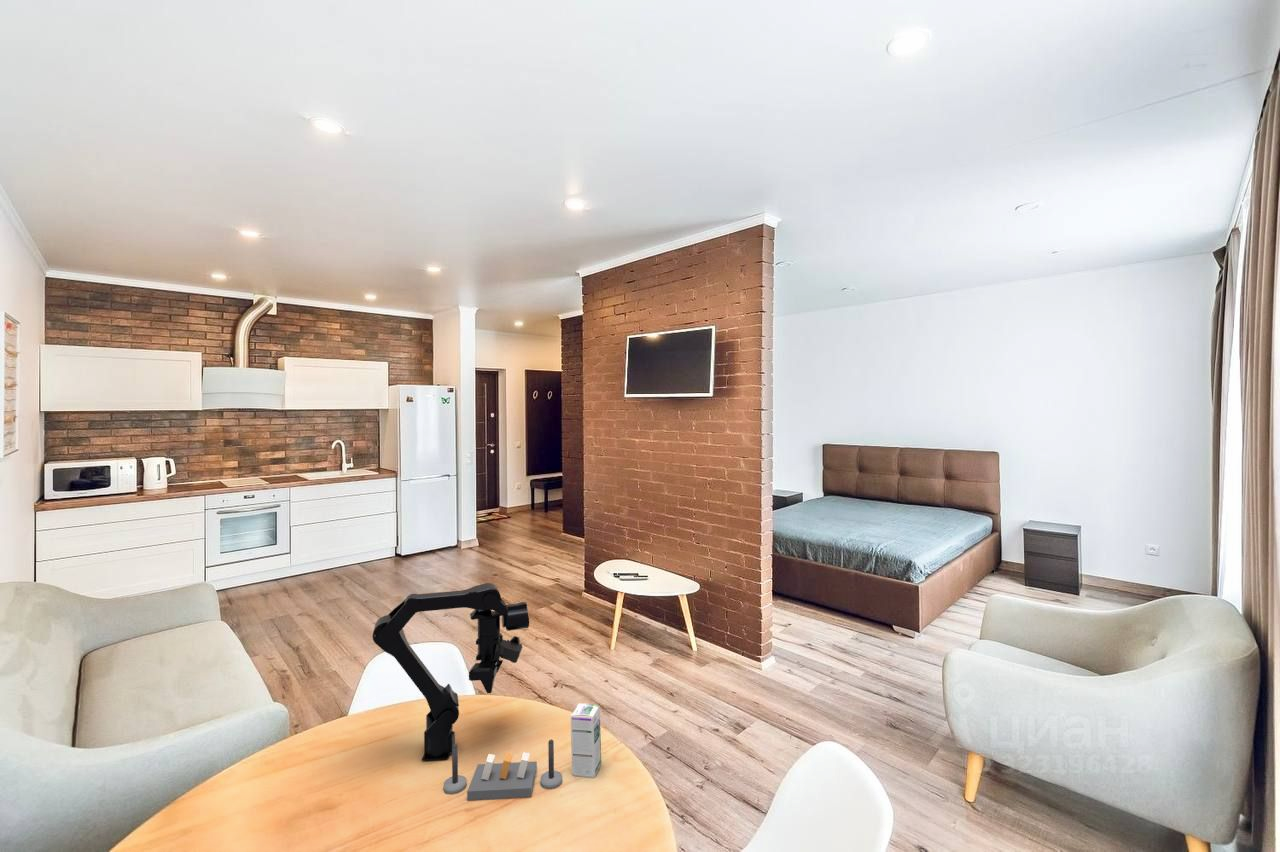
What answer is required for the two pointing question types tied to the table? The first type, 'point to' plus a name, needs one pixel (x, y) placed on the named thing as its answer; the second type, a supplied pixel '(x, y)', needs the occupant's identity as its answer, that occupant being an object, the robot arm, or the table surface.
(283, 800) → the table surface
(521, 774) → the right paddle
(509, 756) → the orange rectangular block
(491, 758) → the left paddle
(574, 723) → the syrup box
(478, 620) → the robot arm
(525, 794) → the panel
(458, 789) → the stand
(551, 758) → the stand
